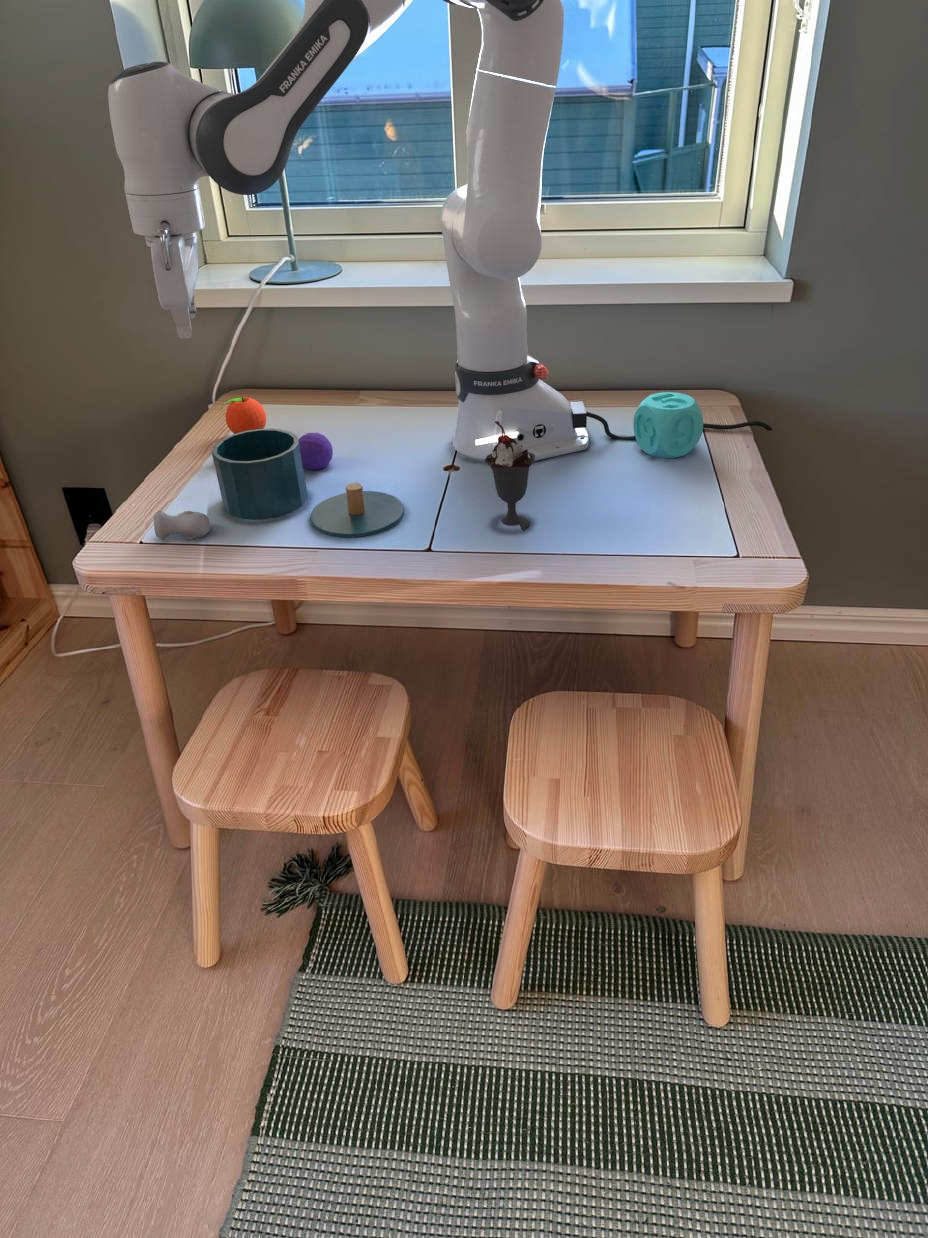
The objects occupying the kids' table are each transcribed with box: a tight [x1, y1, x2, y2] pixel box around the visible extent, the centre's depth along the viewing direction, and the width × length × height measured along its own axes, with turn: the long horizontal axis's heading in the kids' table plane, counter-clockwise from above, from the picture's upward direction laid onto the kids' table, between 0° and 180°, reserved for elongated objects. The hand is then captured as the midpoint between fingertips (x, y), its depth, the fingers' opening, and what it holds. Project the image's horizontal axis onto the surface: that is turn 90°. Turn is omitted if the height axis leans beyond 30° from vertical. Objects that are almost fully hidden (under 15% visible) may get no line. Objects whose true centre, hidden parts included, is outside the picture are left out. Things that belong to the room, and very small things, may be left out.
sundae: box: [484, 421, 535, 531], centre depth 125 cm, size 7×7×15 cm
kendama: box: [298, 432, 334, 471], centre depth 149 cm, size 6×6×20 cm
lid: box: [310, 482, 405, 539], centre depth 132 cm, size 13×13×5 cm
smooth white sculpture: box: [153, 509, 211, 541], centre depth 130 cm, size 4×8×5 cm
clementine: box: [220, 396, 267, 434], centre depth 159 cm, size 8×7×7 cm
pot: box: [211, 428, 308, 521], centre depth 136 cm, size 12×12×10 cm
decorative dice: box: [632, 391, 704, 459], centre depth 146 cm, size 8×8×8 cm
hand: (188, 326), depth 122 cm, fingers open, 8 cm apart
